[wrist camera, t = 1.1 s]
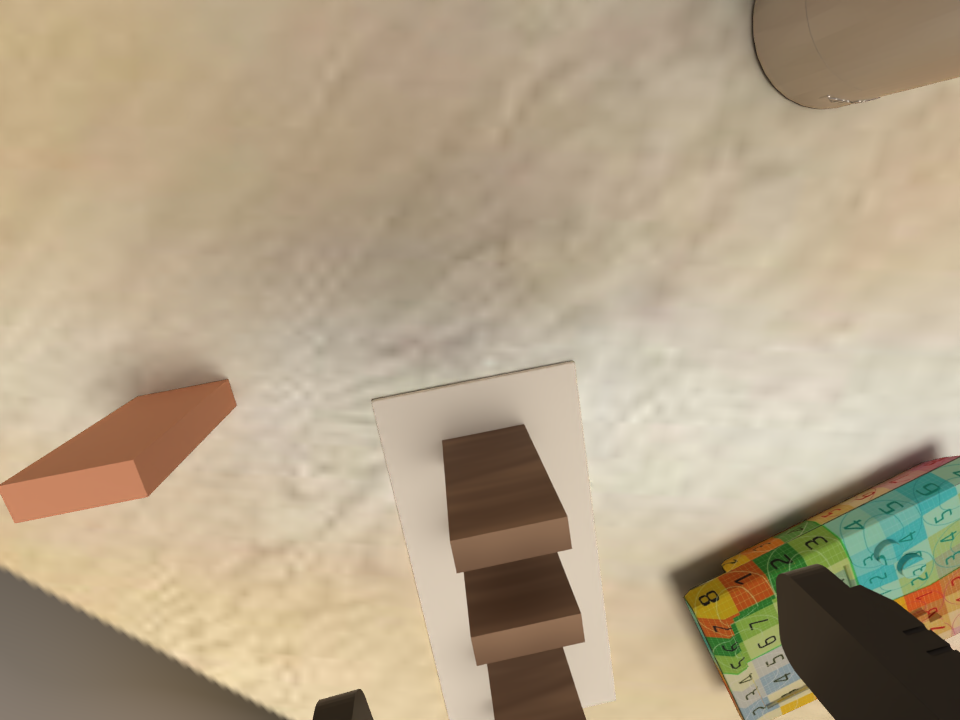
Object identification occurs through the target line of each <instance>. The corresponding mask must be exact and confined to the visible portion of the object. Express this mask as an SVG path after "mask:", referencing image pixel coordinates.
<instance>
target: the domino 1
mask: <svg viewBox="0 0 960 720" xmlns="http://www.w3.org/2000/svg"><path fill="white" fill-rule="evenodd" d="M236 406H237V405H236V402H235V399H234V396H233V393H232V390H231V387H230V384H229V381H228V379H227V380H221V381H216V382H211V383H206V384H200V385H195V386H190V387H185V388H179V389H174V390H169V391H164V392H158V393H153V394H148V395H142V396H137V397H136V398H134V399H133V400H131V401H130V402H128V403H126V404H125V405H123V406H122V407H120V408H119V409H117V410H116V411H114V412H112V413H111V414H109V415H108V416H106V417H105V418H103V419H101V420H100V421H98V422H97V423H95V424H94V425H92V426H91V427H89V428H87V429H86V430H84V431H83V432H81V433H80V434H78V435H77V436H75V437H73V438H72V439H70V440H69V441H67V442H66V443H64V444H62V445H61V446H59V447H58V448H56V449H55V450H53V451H52V452H50V453H48V454H47V455H45V456H44V457H42V458H41V459H39V460H38V461H36V462H34V463H33V464H31V465H30V466H28V467H27V468H25V469H23V470H22V471H20V472H19V473H17V474H16V475H14V476H13V477H11V478H9V479H8V480H6V481H5V482H3V483H2V484H0V494H1V496H2V498H3V500H4V502H5V504H6V506H7V508H8V510H9V512H10V514H11V516H12V518H13V521H14V523H19V522H24V521H29V520H34V519H39V518H44V517H49V516H54V515H59V514H64V513H69V512H74V511H79V510H84V509H89V508H94V507H99V506H104V505H109V504H114V503H119V502H124V501H129V500H134V499H139V498H144V497H148V496H149V495H150V494H151V493H152V492H153V491H154V490H155V489H156V488H157V487H158V486H159V485H160V484H161V483H162V482H163V481H164V480H165V479H166V478H167V477H168V476H169V475H170V474H171V472H172V471H173V470H174V469H175V468H176V467H177V466H178V465H179V464H180V463H181V462H182V461H183V460H184V459H185V458H186V457H187V456H188V455H189V454H190V453H191V452H192V451H193V450H194V449H195V448H196V447H197V446H198V445H199V444H200V443H201V442H202V441H203V440H204V439H205V438H206V437H207V435H208V434H209V433H210V432H211V431H212V430H213V429H214V428H215V427H216V426H217V425H218V424H219V423H220V422H221V421H222V420H223V419H224V418H225V417H226V416H227V415H228V414H229V413H230V412H231V411H232V410H233V409H234V408H235V407H236Z"/></svg>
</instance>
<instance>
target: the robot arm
mask: <svg viewBox="0 0 960 720" xmlns="http://www.w3.org/2000/svg"><path fill="white" fill-rule="evenodd" d="M753 36H754V41H755V46H756V51H757V56H758V58H759V61H760V63H761V65H762V68H763V70H764V73H765V74H766V75H767V77H768V78H769V80H770V81H771V82H772V84H773V85H774V87H775V88H776V89H777V90H779V91H780V92H781V93H782V94H783V95H784V96H786V97H787V98H788V99H790V100H792V101H794V102H796V103H798V104H800V105H802V106H806V107H811V108H816V109H827V108H838V107H842V106H846V105H850V104H854V103H855V104H856V103H861V102H866V101H870V100H874V99H876V98H880V97H882V96H886V95H890V94H893V93H897V92H901V91H906V90H910V89H914V88H918V87H922V86H926V85H929V84H933V83H937V82H941V81H945V80H949V79H953V78H957V77H960V0H756V1H755V7H754V13H753ZM776 593H777V607H778V622H779V635H780V641H781V645H782V648H783V650H784V653H785V655H786V657H787V659H788V661H789V663H790V664H791V666H792V668H793V669H794V671H795V672H796V673H797V675H798V676H799V677H800V678H801V680H802V681H803V682H804V683H805V684H806V685H807V687H808V688H809V689H810V690H811V691H812V693H813V694H814V695H815V696H816V697H817V699H818V700H819V701H820V702H821V703H822V705H823V706H824V707H825V708H826V709H827V710H828V712H829V713H830V714H831V715H832V716H833V718H834V719H835V720H960V652H959V651H957V650H953V649H952V648H951V647H950V644H949V643H947V642H946V641H945V640H943V639H942V638H941V637H940V636H938V635H937V634H936V633H935V632H933V631H932V630H928V629H927V628H926V627H925V624H923V623H922V622H921V621H920V620H918V619H917V618H916V617H915V616H913V615H912V614H911V613H909V612H908V611H907V610H906V609H904V608H903V607H902V606H901V605H899V604H898V603H897V602H896V601H894V600H892V599H889V598H887V597H885V596H883V595H881V594H879V593H877V592H875V591H873V590H870V589H868V588H866V587H864V586H862V585H857V586H854V587H849V586H848V585H847V584H845V583H844V582H843V581H842V580H841V579H839V578H838V577H837V576H836V575H835V574H834V573H832V572H831V571H830V570H829V569H827V568H826V567H825V566H823V565H820V564H813V565H810V566H806V567H803V568H799V569H795V570H792V571H788V572H785V573H781V574H779V575H778V576H777V578H776ZM313 720H373V717H372V715H371V712H370V709H369V706H368V703H367V701H366V698H365V695H364V693H363V691H362V690H361V689H357V690H354V691H350V692H347V693H343V694H339V695H336V696H332V697H329V698H325V699H321V700H319V701H318V703H317V704H316V707H315V711H314V716H313Z"/></svg>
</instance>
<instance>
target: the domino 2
mask: <svg viewBox="0 0 960 720" xmlns="http://www.w3.org/2000/svg"><path fill="white" fill-rule="evenodd" d="M442 447H443V460H444V473H445V486H446V499H447V512H448V525H449V538H450V545H451V549H452V554H453V559H454V563H455V568H456V572H457V573H461V572H466V571H471V570H475V569H480V568H485V567H490V566H494V565H499V564H504V563H508V562H513V561H518V560H522V559H527V558H532V557H536V556H541V555H546V554H551V553H555V552H560V551H565V550H569V549H572V544H571V537H570V529H569V522H568V516H567V514H566V512H565V510H564V508H563V506H562V503H561V501H560V499H559V497H558V495H557V493H556V491H555V489H554V486H553V484H552V482H551V480H550V478H549V476H548V474H547V472H546V469H545V467H544V465H543V463H542V461H541V459H540V457H539V455H538V452H537V450H536V448H535V446H534V444H533V442H532V440H531V438H530V435H529V433H528V431H527V429H526V427H525V425H524V424H522V425H517V426H512V427H507V428H502V429H497V430H492V431H487V432H482V433H477V434H472V435H467V436H462V437H457V438H452V439H447V440H442Z"/></svg>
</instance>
